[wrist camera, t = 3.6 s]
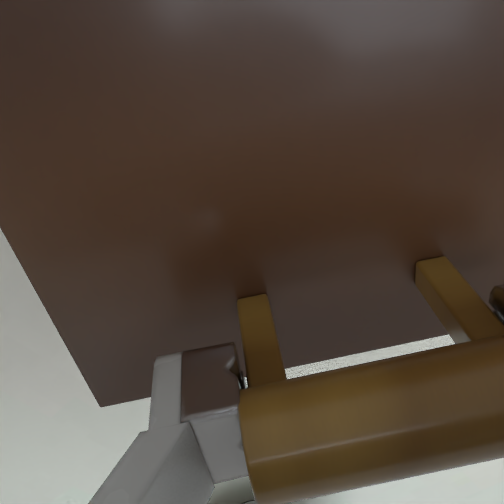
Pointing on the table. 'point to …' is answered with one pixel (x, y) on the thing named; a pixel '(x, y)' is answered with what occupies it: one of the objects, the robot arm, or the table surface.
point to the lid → (271, 214)
